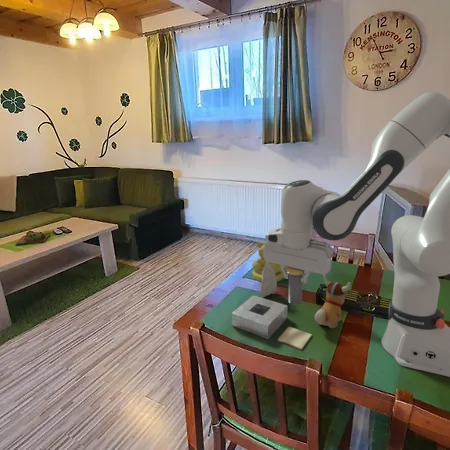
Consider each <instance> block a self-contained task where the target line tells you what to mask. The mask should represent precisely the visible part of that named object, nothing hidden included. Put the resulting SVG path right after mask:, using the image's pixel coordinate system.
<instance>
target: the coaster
mask: <svg viewBox="0 0 450 450" xmlns="http://www.w3.org/2000/svg"><path fill="white" fill-rule="evenodd" d="M311 337H312V334H311V333H309V332H306V331H302V330H300V329H297V328H295V327H292V326H288V327H287V328H286V329H285V330H284V331H283V333H282V334H281V335H280V336H279V337H278V339H277V341H278V342H280V343H282V344H285V345H288V346H290V347H293V348H295V349H297V350H300V351H302V350H303V349H304V348H305V345H306V344H308V342H309V340H310V339H311Z"/></svg>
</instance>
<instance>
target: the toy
mask: <svg viewBox="0 0 450 450" xmlns="http://www.w3.org/2000/svg"><path fill="white" fill-rule="evenodd" d="M323 282H324V284H325V286H326V296H325V298H326V300H325V302H324V304H323V306H322V307H321V308H319V309H318V310H317V311H316V312H315V314H314V320H315V322H316V324H318V325H323V326H326V327H327V326H328V328H330V329H334V328H337V327H338V326H339V324H338V323H339V322H341V320H342V318H341V315H342V309H341V308H342V305H343V304H344V303H345V297H346V293H347V292H348V291H349V290H350V288H351V284H352V283H351V282H347V284H346V285H342V284H341V283H340V282H337V281H336V282H331V281H329V280H328V278H327V274H326V275H323Z"/></svg>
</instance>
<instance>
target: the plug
mask: <svg viewBox="0 0 450 450" xmlns="http://www.w3.org/2000/svg"><path fill="white" fill-rule="evenodd" d="M287 273H288V274H289V279H288V296H287V297H288V298H287V299H288V303H289V304H291V305H301V303H302V302H303V301H302V300H303V283H301V277H302V276H303V275H304V274H305V273H304V270H301V269H296V268H292V267H288V266H287Z"/></svg>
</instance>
